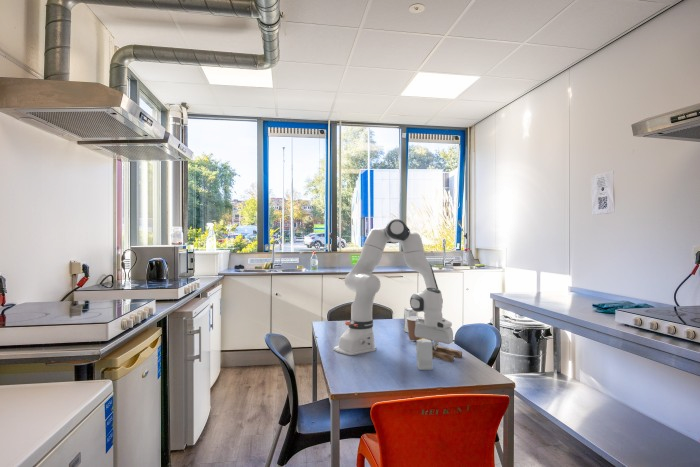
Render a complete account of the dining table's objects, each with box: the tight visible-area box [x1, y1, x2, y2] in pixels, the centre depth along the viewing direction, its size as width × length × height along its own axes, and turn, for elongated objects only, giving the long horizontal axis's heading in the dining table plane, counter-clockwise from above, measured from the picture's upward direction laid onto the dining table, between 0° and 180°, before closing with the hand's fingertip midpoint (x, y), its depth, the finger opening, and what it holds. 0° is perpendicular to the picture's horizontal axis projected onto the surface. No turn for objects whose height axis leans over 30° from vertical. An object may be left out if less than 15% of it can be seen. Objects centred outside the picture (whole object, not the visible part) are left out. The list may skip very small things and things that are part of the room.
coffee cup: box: [407, 315, 424, 342], centre depth 206 cm, size 10×10×12 cm
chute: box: [432, 342, 463, 363], centre depth 179 cm, size 17×11×3 cm, turn 46°
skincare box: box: [416, 339, 433, 371], centre depth 160 cm, size 6×4×12 cm
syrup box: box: [403, 306, 418, 334], centre depth 223 cm, size 6×6×14 cm
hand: (433, 349), depth 181 cm, fingers closed
